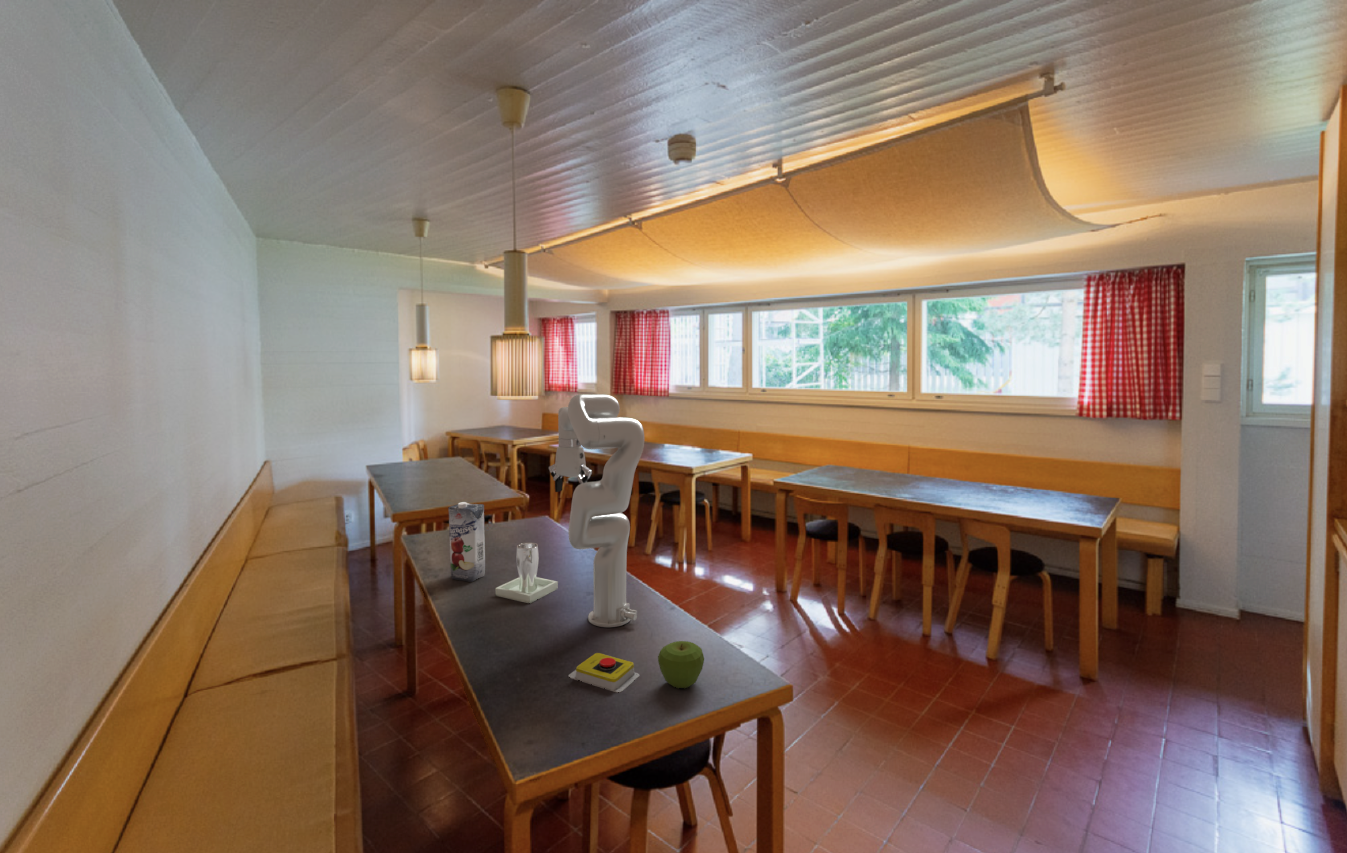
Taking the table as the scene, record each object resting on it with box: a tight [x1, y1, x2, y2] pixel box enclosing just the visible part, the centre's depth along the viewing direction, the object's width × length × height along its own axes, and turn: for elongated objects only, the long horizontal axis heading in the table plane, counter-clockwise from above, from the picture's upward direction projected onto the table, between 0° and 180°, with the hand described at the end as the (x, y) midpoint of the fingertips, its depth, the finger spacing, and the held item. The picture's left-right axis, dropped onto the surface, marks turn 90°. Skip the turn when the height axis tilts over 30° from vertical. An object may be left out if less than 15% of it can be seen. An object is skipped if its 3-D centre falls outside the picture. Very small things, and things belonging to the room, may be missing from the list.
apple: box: [657, 640, 705, 689], centre depth 136 cm, size 11×10×10 cm
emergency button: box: [568, 652, 640, 693], centre depth 139 cm, size 9×4×15 cm
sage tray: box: [495, 576, 559, 604], centre depth 191 cm, size 14×14×2 cm
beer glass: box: [516, 542, 540, 594], centre depth 190 cm, size 7×7×15 cm
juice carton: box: [448, 501, 486, 583], centre depth 203 cm, size 9×10×27 cm
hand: (570, 492), depth 201 cm, fingers open, 9 cm apart
